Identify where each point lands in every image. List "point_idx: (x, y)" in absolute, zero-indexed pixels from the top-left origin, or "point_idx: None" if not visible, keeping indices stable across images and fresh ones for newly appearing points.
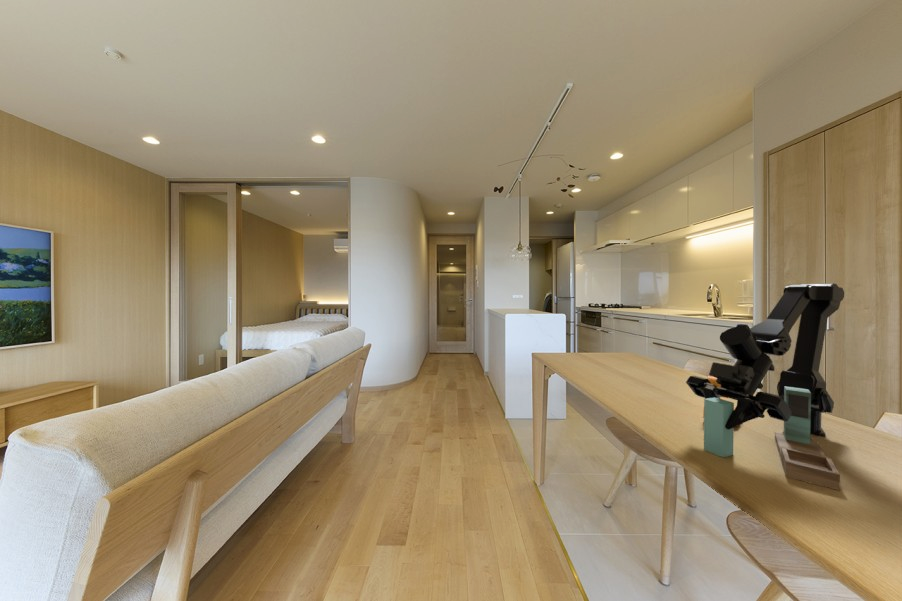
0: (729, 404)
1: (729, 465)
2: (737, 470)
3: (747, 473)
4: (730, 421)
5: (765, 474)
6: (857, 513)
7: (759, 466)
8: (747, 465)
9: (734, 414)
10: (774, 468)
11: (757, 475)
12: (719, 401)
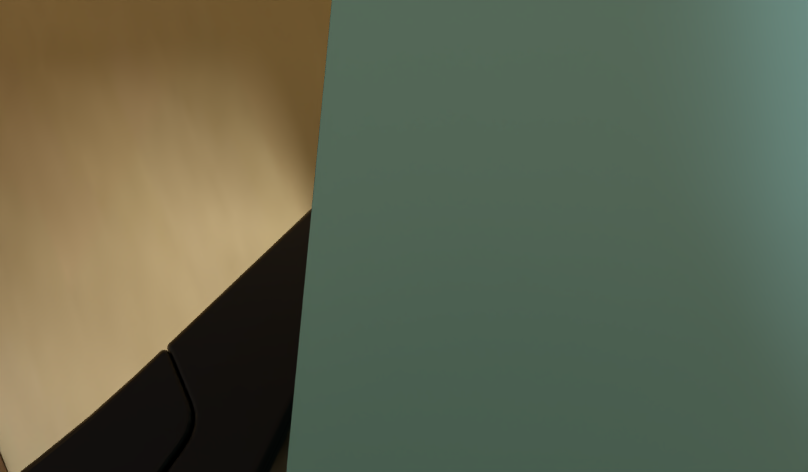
0: (306, 324)
1: (292, 84)
2: (209, 48)
3: (140, 73)
4: (307, 225)
5: (55, 207)
6: None
7: (150, 336)
8: (213, 248)
9: (232, 348)
10: (64, 428)
11: (81, 117)
12: (755, 213)
